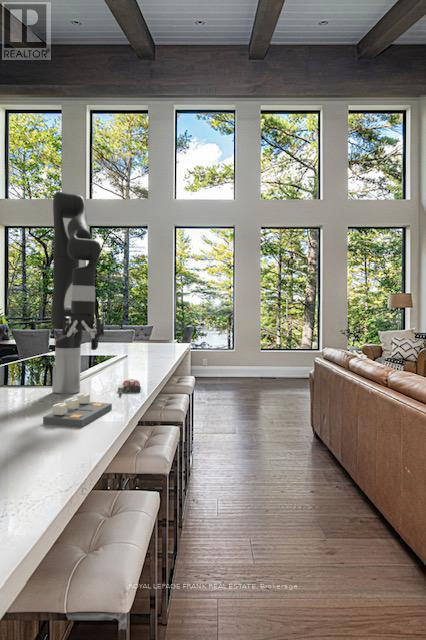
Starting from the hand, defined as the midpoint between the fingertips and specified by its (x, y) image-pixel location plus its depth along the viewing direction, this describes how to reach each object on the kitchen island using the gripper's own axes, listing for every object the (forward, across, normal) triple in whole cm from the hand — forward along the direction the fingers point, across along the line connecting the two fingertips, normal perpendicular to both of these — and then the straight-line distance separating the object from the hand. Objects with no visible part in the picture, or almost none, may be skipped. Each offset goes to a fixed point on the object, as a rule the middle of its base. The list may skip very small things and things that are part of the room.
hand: (82, 348), depth 139 cm
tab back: (+17, +3, -3) cm, 17 cm away
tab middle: (+17, +3, -10) cm, 20 cm away
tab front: (+17, +4, -17) cm, 24 cm away
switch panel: (+19, +6, -10) cm, 22 cm away
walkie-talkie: (+20, +3, +28) cm, 35 cm away
